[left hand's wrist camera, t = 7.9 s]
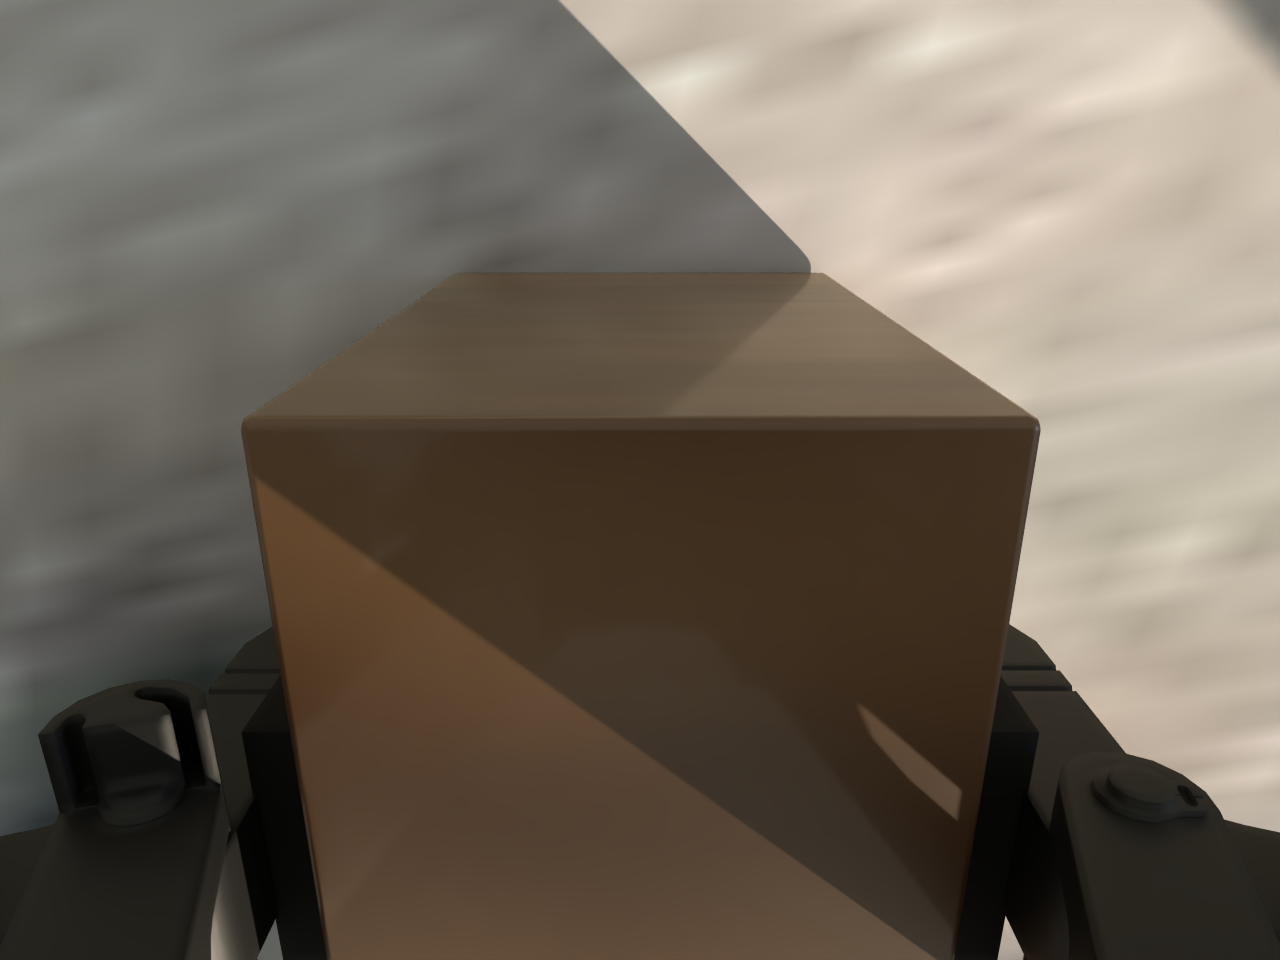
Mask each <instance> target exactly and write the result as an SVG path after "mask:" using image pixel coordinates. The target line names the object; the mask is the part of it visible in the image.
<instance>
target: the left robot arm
mask: <svg viewBox="0 0 1280 960" xmlns="http://www.w3.org/2000/svg"><path fill="white" fill-rule="evenodd" d="M225 670H226V671H225V674H221V675H220V676H219V677H218V679H217V680H216V681H215V682H214V684H213V685H212V686H211V688H210V689H209V694H205V695H204V694H203V693H202V692H201V691H199V690H198V689H197V688H196V687H194V686H193V685H192V684H188V683H183V682H178V681H173V680H151V681H138V682H134V683H130V684H125V685H121V686H117V687H112V688H109V689H106V690H104V691H101V692H99V693H96V694H94V695H91V696H89V697H87V698H84V699H82V700H79V701H78V702H76V703H74V704H73V705H71V706H70V707H68V708H67V709H65V710H64V711H62V712H60V713H59V714H57V715H56V716H54V717H53V718H52V719H51V721H50V722H49V723H48V724H47V725H46V726H45V727H44V729H43V730H42V731H41V732H40V733H39V734H38V736H39V740H40V743H41V747H42V750H43V754H44V758H45V761H46V765H47V768H48V772H49V775H50V779H51V783H52V786H53V790H54V793H55V797H56V800H57V804H58V808H59V811H60V814H59V816H58V818H57V820H56V823H55V824H53V825H49V826H45V827H42V828H38V829H34V830H29V831H24V832H19V833H15V834H10V835H5V836H1V837H0V960H257V957H258V955H259V953H260V951H261V948H262V946H263V944H264V942H265V940H266V938H267V936H268V934H269V931H270V929H271V927H272V925H273V923H274V921H275V919H276V923H277V928H278V934H279V939H280V945H281V950H282V955H283V960H327V957H326V950H325V944H324V938H323V932H322V926H321V920H320V913H319V907H318V901H317V895H316V889H315V883H314V876H313V870H312V864H311V858H310V852H309V846H308V839H307V833H306V827H305V821H304V815H303V809H302V802H301V796H300V790H299V784H298V778H297V772H296V765H295V759H294V753H293V747H292V741H291V735H290V728H289V722H288V716H287V710H286V704H285V698H284V691H283V685H282V679H281V673H280V667H279V661H278V654H277V648H276V642H275V636H274V630H273V627H271V628H270V629H268V630H266V631H265V632H263V633H262V634H260V635H259V636H257V637H255V638H254V639H252V640H251V641H249V642H248V643H246V644H245V645H244V646H243V647H242V649H241V650H240V651H239V652H238V654H237V655H236V656H235V657H234V659H233V660H232V661H231V662H230V664H229V665H228V666H227V667H226V669H225ZM1005 915H1006V917H1007V919H1008V922H1009V924H1010V926H1011V928H1012V930H1013V932H1014V934H1015V936H1016V938H1017V940H1018V943H1019V945H1020V947H1021V949H1022V951H1023V953H1024V956H1023V960H1280V832H1275V831H1270V830H1265V829H1261V828H1256V827H1251V826H1246V825H1242V824H1238V823H1235V822H1231V821H1227V820H1224V819H1223V816H1222V814H1221V812H1220V811H1219V809H1218V808H1217V807H1216V805H1215V804H1214V802H1213V801H1212V800H1211V798H1210V797H1209V796H1208V794H1207V793H1206V792H1205V791H1204V790H1202V789H1201V788H1200V787H1198V786H1197V785H1196V784H1194V783H1193V782H1192V781H1190V780H1189V779H1188V778H1186V777H1185V776H1184V775H1182V774H1180V773H1178V772H1176V771H1174V770H1172V769H1169V768H1167V767H1165V766H1163V765H1161V764H1159V763H1157V762H1154V761H1152V760H1148V759H1144V758H1140V757H1136V756H1133V755H1129V754H1126V753H1125V752H1124V750H1123V749H1122V748H1121V747H1120V745H1119V744H1118V743H1117V742H1116V740H1115V739H1114V738H1113V737H1112V735H1111V734H1110V733H1109V732H1108V730H1107V729H1106V728H1105V727H1104V725H1103V724H1102V723H1101V722H1100V720H1099V719H1098V718H1097V717H1096V715H1095V714H1094V713H1093V712H1092V710H1091V709H1090V708H1089V707H1088V705H1087V704H1086V703H1085V702H1084V700H1083V699H1082V698H1081V697H1080V695H1079V694H1078V693H1077V692H1076V691H1072V685H1071V684H1070V683H1069V682H1068V680H1067V679H1066V678H1065V677H1064V675H1063V674H1062V673H1061V672H1060V671H1056V665H1055V664H1054V663H1053V662H1052V660H1051V659H1050V658H1049V657H1048V655H1047V654H1046V653H1045V652H1044V650H1043V649H1042V648H1041V647H1040V645H1039V644H1038V643H1037V642H1036V641H1035V640H1033V639H1032V638H1030V637H1028V636H1027V635H1025V634H1024V633H1022V632H1021V631H1019V630H1017V629H1016V628H1014V627H1013V626H1011V625H1010V624H1009V627H1008V633H1007V639H1006V645H1005V651H1004V657H1003V664H1002V670H1001V676H1000V682H999V688H998V694H997V700H996V707H995V713H994V719H993V725H992V731H991V737H990V743H989V750H988V756H987V762H986V768H985V774H984V780H983V786H982V793H981V799H980V805H979V811H978V817H977V823H976V829H975V836H974V842H973V848H972V854H971V860H970V866H969V872H968V879H967V885H966V891H965V897H964V903H963V909H962V915H961V922H960V928H959V934H958V940H957V946H956V952H955V958H954V960H997V959H998V953H999V948H1000V942H1001V937H1002V932H1003V926H1004V921H1005Z"/></svg>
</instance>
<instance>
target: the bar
mask: <svg viewBox="0 0 1280 960" xmlns="http://www.w3.org/2000/svg"><path fill="white" fill-rule="evenodd" d="M241 432H242V438H243V445H244V451H245V457H246V463H247V469H248V476H249V482H250V488H251V494H252V500H253V506H254V513H255V519H256V525H257V531H258V537H259V543H260V550H261V556H262V562H263V568H264V574H265V580H266V587H267V593H268V599H269V605H270V611H271V617H272V624H273V630H274V636H275V642H276V648H277V654H278V661H279V667H280V673H281V679H282V685H283V691H284V698H285V704H286V710H287V716H288V722H289V728H290V735H291V741H292V747H293V753H294V759H295V765H296V772H297V778H298V784H299V790H300V796H301V802H302V809H303V815H304V821H305V827H306V833H307V839H308V846H309V852H310V858H311V864H312V870H313V876H314V883H315V889H316V895H317V901H318V907H319V913H320V920H321V926H322V932H323V938H324V944H325V950H326V957H327V960H954V958H955V952H956V946H957V940H958V934H959V928H960V922H961V915H962V909H963V903H964V897H965V891H966V885H967V879H968V872H969V866H970V860H971V854H972V848H973V842H974V836H975V829H976V823H977V817H978V811H979V805H980V799H981V793H982V786H983V780H984V774H985V768H986V762H987V756H988V750H989V743H990V737H991V731H992V725H993V719H994V713H995V707H996V700H997V694H998V688H999V682H1000V676H1001V670H1002V664H1003V657H1004V651H1005V645H1006V639H1007V633H1008V627H1009V621H1010V614H1011V608H1012V602H1013V596H1014V590H1015V584H1016V578H1017V571H1018V565H1019V559H1020V553H1021V547H1022V541H1023V535H1024V529H1025V522H1026V516H1027V510H1028V504H1029V498H1030V492H1031V486H1032V479H1033V473H1034V467H1035V461H1036V455H1037V449H1038V443H1039V436H1040V424H1039V421H1038V419H1037V418H1035V417H1034V416H1033V415H1031V414H1030V413H1028V412H1027V411H1025V410H1024V409H1022V408H1021V407H1019V406H1018V405H1016V404H1015V403H1013V402H1012V401H1011V400H1009V399H1008V398H1006V397H1005V396H1003V395H1002V394H1000V393H999V392H997V391H996V390H994V389H993V388H991V387H990V386H989V385H987V384H986V383H984V382H983V381H981V380H980V379H978V378H977V377H975V376H974V375H972V374H971V373H969V372H968V371H967V370H965V369H964V368H962V367H961V366H959V365H958V364H956V363H955V362H953V361H952V360H950V359H949V358H947V357H946V356H944V355H943V354H942V353H940V352H939V351H937V350H936V349H934V348H933V347H931V346H930V345H928V344H927V343H925V342H924V341H922V340H921V339H920V338H918V337H917V336H915V335H914V334H912V333H911V332H909V331H908V330H906V329H905V328H903V327H902V326H900V325H899V324H898V323H896V322H895V321H893V320H892V319H890V318H889V317H887V316H886V315H884V314H883V313H881V312H880V311H878V310H877V309H876V308H874V307H873V306H871V305H870V304H868V303H867V302H865V301H864V300H862V299H861V298H859V297H858V296H856V295H855V294H854V293H852V292H851V291H849V290H848V289H846V288H845V287H843V286H842V285H840V284H839V283H837V282H836V281H834V280H833V279H831V278H830V277H829V276H827V275H825V274H823V273H457V274H455V275H453V276H452V277H450V278H449V279H447V280H446V281H445V282H443V283H442V284H440V285H439V286H437V287H436V288H434V289H433V290H431V291H430V292H428V293H427V294H426V295H424V296H423V297H421V298H420V299H418V300H417V301H415V302H414V303H412V304H411V305H410V306H408V307H407V308H405V309H404V310H402V311H401V312H399V313H398V314H396V315H395V316H393V317H392V318H391V319H389V320H388V321H386V322H385V323H383V324H382V325H380V326H379V327H377V328H376V329H375V330H373V331H372V332H370V333H369V334H367V335H366V336H364V337H363V338H361V339H360V340H359V341H357V342H356V343H354V344H353V345H351V346H350V347H348V348H347V349H345V350H344V351H342V352H341V353H340V354H338V355H337V356H335V357H334V358H332V359H331V360H329V361H328V362H326V363H325V364H324V365H322V366H321V367H319V368H318V369H316V370H315V371H313V372H312V373H310V374H309V375H308V376H306V377H305V378H303V379H302V380H300V381H299V382H297V383H296V384H294V385H293V386H291V387H290V388H289V389H287V390H286V391H284V392H283V393H281V394H280V395H278V396H277V397H275V398H274V399H273V400H271V401H270V402H268V403H267V404H265V405H264V406H262V407H261V408H259V409H258V410H256V411H255V412H254V413H252V414H251V415H249V416H248V417H246V418H245V419H244V420H243V423H242V427H241Z"/></svg>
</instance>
